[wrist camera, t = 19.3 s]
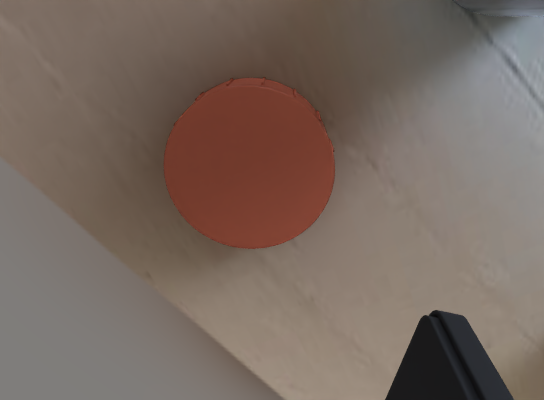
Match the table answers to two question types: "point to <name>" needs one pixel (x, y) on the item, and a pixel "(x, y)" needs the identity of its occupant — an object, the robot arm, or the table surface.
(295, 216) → the lid
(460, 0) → the thermos
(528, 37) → the table surface
